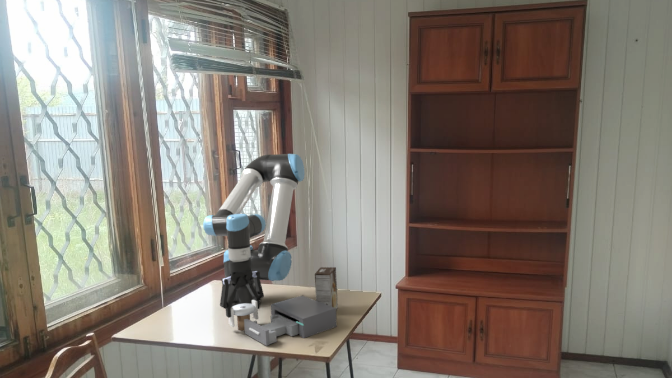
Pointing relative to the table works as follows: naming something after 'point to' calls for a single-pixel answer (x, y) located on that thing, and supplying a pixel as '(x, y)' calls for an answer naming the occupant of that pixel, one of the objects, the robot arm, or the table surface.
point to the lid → (243, 309)
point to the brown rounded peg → (242, 322)
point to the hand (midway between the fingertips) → (243, 321)
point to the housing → (307, 314)
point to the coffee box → (326, 286)
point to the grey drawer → (271, 329)
